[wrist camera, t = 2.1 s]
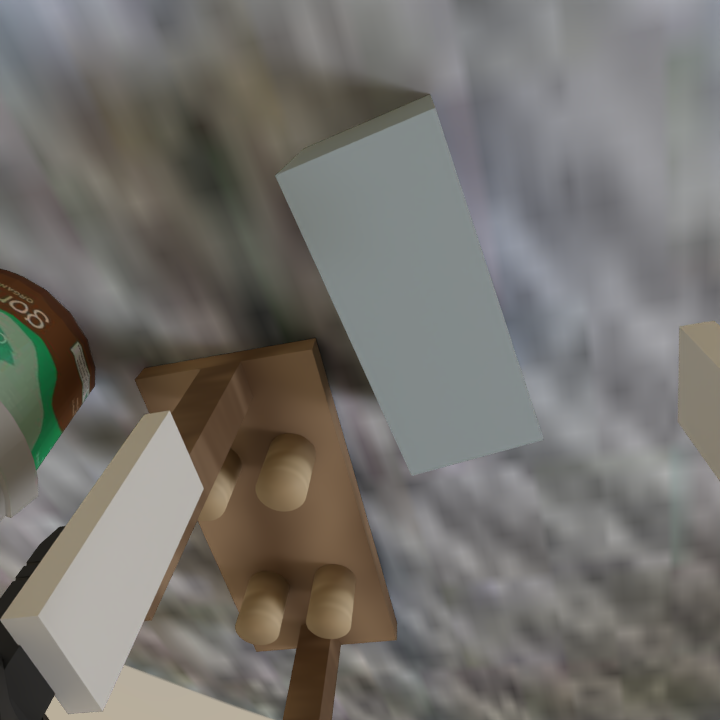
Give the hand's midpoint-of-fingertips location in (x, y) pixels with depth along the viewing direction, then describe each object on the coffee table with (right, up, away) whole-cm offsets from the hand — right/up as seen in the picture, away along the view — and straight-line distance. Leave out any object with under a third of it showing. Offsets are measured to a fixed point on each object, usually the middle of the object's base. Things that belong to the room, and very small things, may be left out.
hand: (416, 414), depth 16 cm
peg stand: (-6, -7, +18) cm, 20 cm away
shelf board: (+1, +6, +11) cm, 13 cm away
